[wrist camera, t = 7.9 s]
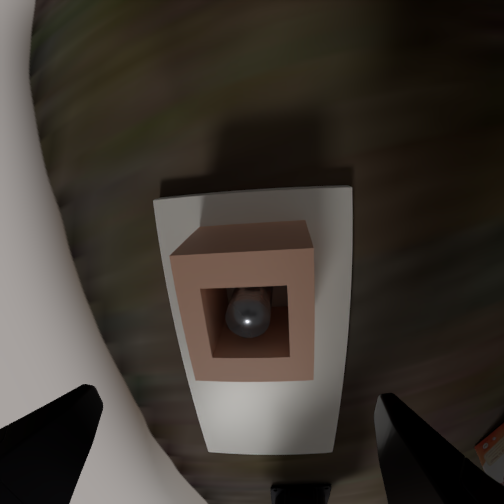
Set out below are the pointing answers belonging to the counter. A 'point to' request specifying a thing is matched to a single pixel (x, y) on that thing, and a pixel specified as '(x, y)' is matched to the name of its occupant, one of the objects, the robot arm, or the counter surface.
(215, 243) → the pink hollow square block
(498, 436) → the cracker box
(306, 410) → the base plate
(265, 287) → the steel pin
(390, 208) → the counter surface
